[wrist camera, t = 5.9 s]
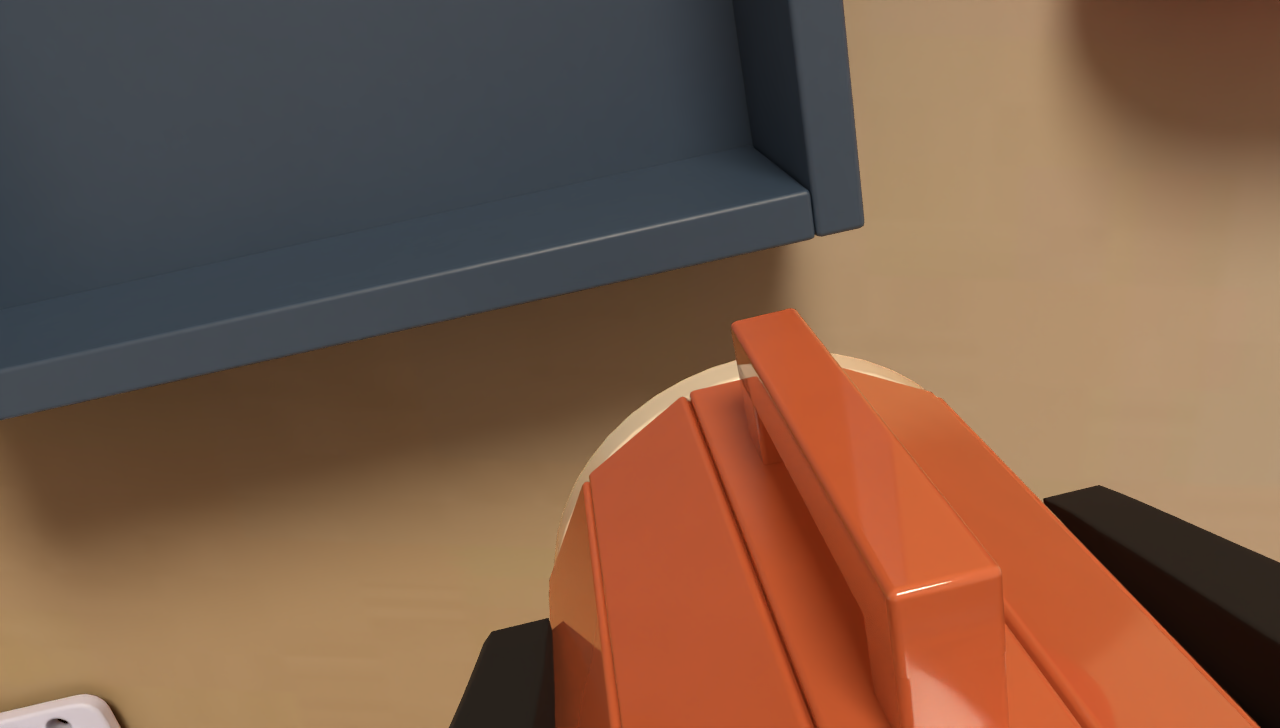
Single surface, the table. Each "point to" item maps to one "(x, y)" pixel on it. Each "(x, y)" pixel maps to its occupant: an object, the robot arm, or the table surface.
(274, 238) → the bin
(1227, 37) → the table surface
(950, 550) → the cup
